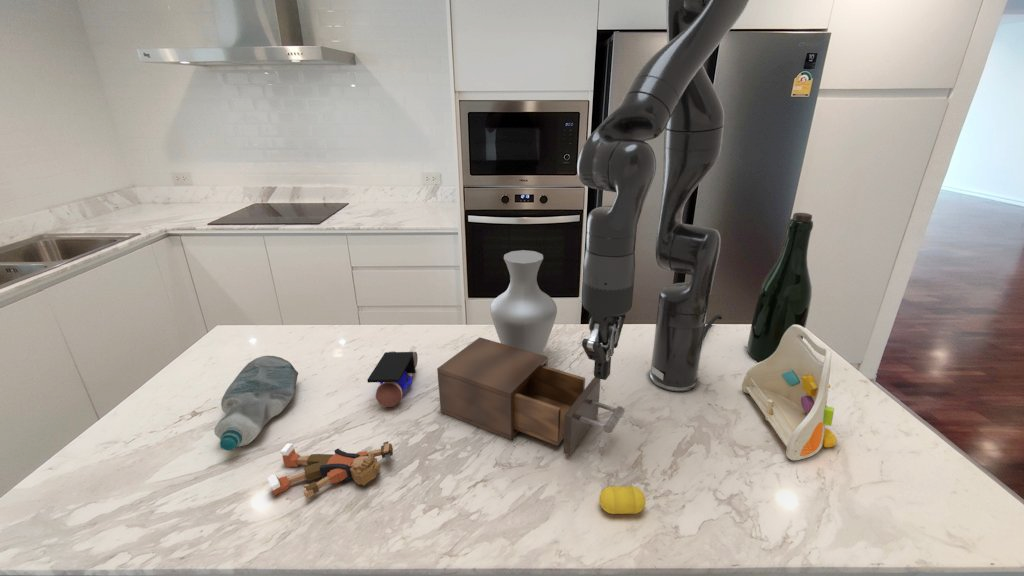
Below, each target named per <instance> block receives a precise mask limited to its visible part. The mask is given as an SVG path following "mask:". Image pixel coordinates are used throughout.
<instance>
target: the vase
mask: <svg viewBox="0 0 1024 576" xmlns="http://www.w3.org/2000/svg"><path fill="white" fill-rule="evenodd" d="M503 260H504V262H505V264H506V267H507V270H508V272H509V280H510V282H509V284H508V287H507V289H506V290H505V291H504V292H501V294H499V295H497V297H495V299H494V300H492V302H491V305H490V310H489V311H490V318H491V321H492V324H493V326H494V329H495V332H496V334H497V338H498V340H499V343H501V344H505V345H508V346H512V347H515V348H519V349H522V350H526V351H529V352H533V353H536V354H540V355H543V353H544V350H545V348H546V346H547V344H548V342H549V338H550V335H551V334H552V333H551V332H552V330H553V327H554V324H555V322H556V318H557V314H558V307H557V304H556V302H555V300H554V299H553V298H552V297H551V296H550V295H548V294H547V293H546V292H544V291H542V290H541V289H540V287H539V284H538V280H537V278H538V272H539V270H540V266H541V264H542V262H543V260H544V254H542V253H540V252H538V251H534V250H528V249H527V250H525V249H521V250H512V251H510V252H507V253H505V254H504V255H503Z"/></svg>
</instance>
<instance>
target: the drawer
mask: <svg viewBox="0 0 1024 576" xmlns="http://www.w3.org/2000/svg"><path fill="white" fill-rule="evenodd" d="M600 391H601V379H599V378H596V377H595V376H594V377H593V378H592V379H591V381H590V382H589V383H588V385H587V386H586V377H584V376H580V375H577V374H574V373H570V372H567V371H564V370H560V369H556V368H554V367H551V366H548V367H547V366H544V365H543V366H542V367H541V368H540V369H539V370H538V371H537V372H536V373H535V374H534V375H533V376H532V377H531V378H530V379H529V380H528V381H527V382H526V383H525V384H524V385H523V386H522V387H521V388H520V389H519V390H518V391H517V392H516V393H515V394H514V395H513V422H514V429H515V430H518V431H519V432H520V433H522V434H526V435H528V436H531V437H532V438H533V437H534V438H536V439H538V440H541V441H544V442H547V443H549V444H551V445H554V446H557V447H558V446H559V445H560V443H561V442H562V441H563V450H562V451H563V455H567V456H571V455H572V453H573V452H574V450H575V449H576V447H577V446H578V445H579V443H580V442H581V440H582V439H583V437H584V436H585V434H586V433H587V432H588V430H589V429H590V427H591V426H594V427H598V428H600V429H603V431H604V432H605V433H606V434H609V435H610V434H612V433H613V431H614V430H615V428H616V427H617V425H618V423H619V421H620V420H621V418H622V417H623V415H624V414H625V408H624V407H623V406H621V405H618V406H616V407H614V406H611V405H608V404H605V403H602V402H600V393H601V392H600ZM599 409H603V410H607V411H609V412H612V413H611V415H610V416H609V418H608V419H607V421H606V423H604V422H601V421H597V420H596V418H597V417H598V415H599Z"/></svg>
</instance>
